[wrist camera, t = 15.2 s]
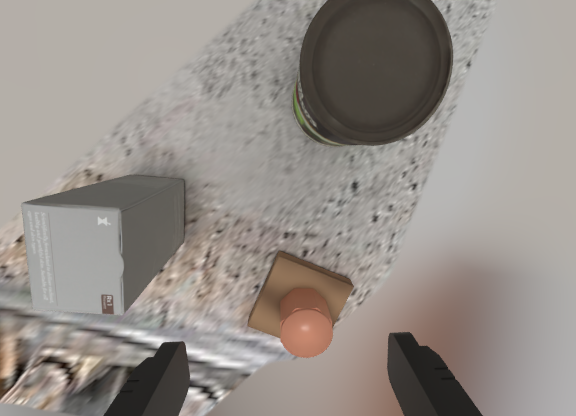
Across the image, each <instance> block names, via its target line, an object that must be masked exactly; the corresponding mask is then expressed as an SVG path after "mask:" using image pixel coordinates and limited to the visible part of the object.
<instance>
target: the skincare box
mask: <svg viewBox="0 0 576 416" xmlns="http://www.w3.org/2000/svg"><path fill="white" fill-rule="evenodd" d="M21 207H22V215H23V224H24V234H25V244H26V254H27V265H28V273H29V282H30V290H31V300H32V309H33V310H39V311H59V312H76V313H93V314H110V315H123V314H124V313H125V312H126V311H127V310H128V309H129V307H130V306H131V305H132V304H133V303H134V301H135V300H136V299H137V298H138V296H139V295H140V294H141V293H142V292H143V290H144V289H145V288H146V287H147V285H148V284H149V283H150V282H151V281H152V279H153V278H154V277H155V276H156V275H157V273H158V272H159V271H160V270H161V269H162V267H163V266H164V265H165V264H166V263H167V261H168V260H169V259H170V258H171V257H172V255H173V254H174V253H175V252H176V251H177V249H178V248H179V247H180V246H181V245H182V243H184V180H183V179H173V178H162V177H151V176H139V175H127V176H123V177H119V178H115V179H112V180H108V181H104V182H100V183H96V184H92V185H88V186H84V187H80V188H77V189H73V190H69V191H65V192H61V193H57V194H54V195H50V196H46V197H42V198H38V199H34V200H31V201H27V202H23V203H22V204H21Z"/></svg>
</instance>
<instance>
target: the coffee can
mask: <svg viewBox="0 0 576 416" xmlns="http://www.w3.org/2000/svg"><path fill="white" fill-rule="evenodd" d="M452 66H453V47H452V41H451V36H450V32H449V30H448V27H447V24H446V22H445V20H444V18H443V16H442V14H441V13H440V11H439V10H438V8H437V7H436V6H435V4H434V3H433V2H432V1H431V0H328V1H327V2H326V3H325V4H324V5H323V6H322V7H321V8H320V10H319V11H318V12H317V14H316V15H315V17H314V18H313V20H312V22H311V23H310V25H309V27H308V29H307V32H306V34H305V37H304V40H303V44H302V48H301V54H300V65H299V70H298V75H297V79H296V82H295V85H294V88H293V92H292V110H293V114H294V117H295V120H296V122H297V124H298V126H299V127H300V129H301V130H302V131H303V133H304V134H305V135H306V136H307V137H309V138H310V139H311V140H313V141H315V142H316V143H319V144H321V145H325V146H331V147H340V146H345V145H371V146H374V145H383V144H388V143H392V142H395V141H398V140H401V139H403V138H405V137H407V136H409V135H410V134H412V133H413V132H415V131H416V130H418V129H419V128H420V127H421V126H423V125H424V124H425V123H426V122H427V121H428V120H429V118H430V117H431V116H432V115H433V114H434V113H435V111H436V110H437V108H438V107H439V105H440V103H441V102H442V100H443V98H444V96H445V93H446V91H447V88H448V85H449V82H450V77H451V73H452Z"/></svg>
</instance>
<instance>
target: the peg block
mask: <svg viewBox="0 0 576 416" xmlns="http://www.w3.org/2000/svg"><path fill="white" fill-rule="evenodd" d="M353 287H354V286H353V284H352V282H351V280H350V279H348V278H346V277H343V276H341V275H338V274H336V273H333V272H331V271H328V270H326V269H323V268H321V267H318V266H316V265H313V264H311V263H309V262H306V261H304V260H301V259H299V258H296V257H294V256H291V255H289V254H286V253H284V252H281V251H279V252H278V254H277V256H276V258H275V260H274V263H273V265H272V267H271V269H270V272H269V274H268V276H267V278H266V280H265V283H264V285H263V287H262V289H261V292H260V294H259V296H258V298H257V300H256V303H255V305H254V307H253V309H252V311H251V314H250V316H249V320H248V325H247V326H249V327H251V328H254V329H257V330H259V331H262V332H265V333H267V334H270V335H273V336H276V337H278V338H281V327H280V301H281V300H282V299H283V298H284V297H285V296H286V295H287V294H288V293H290V292H291V291H292V290H293V289H294V288H313V289H314V290H315V291H316V292H317V293H318V294H319V295H321V296H322V297H323V298H324V299H325V300H326V303H327V306H328V309H329V313H330V316H331V319H332V328H333V326H334V324H335V322H336V320H337V318H338V316H339V314H340V312H341V310H342V309H343V307H344V305H345V303H346V301H347V299H348V297H349V295H350V293H351V291H352V289H353Z"/></svg>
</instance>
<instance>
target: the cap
mask: <svg viewBox="0 0 576 416" xmlns="http://www.w3.org/2000/svg"><path fill="white" fill-rule="evenodd" d="M280 327H281V342H282V344H283V346H284V347H285V348H286V350H287V351H289V352H290V353H291V354H293V355H295V356H298V357H304V358H305V357H306V358H308V357H314V356H317V355H319V354H321V353H322V352H324V351H325V350H326V349H327V347H328V346H329V345H330V343H331V341H332V337H333V330H332V319H331V316H330V313H329V309H328V306H327V303H326V300H325V299H324V298H323V297H322V296H321V295H319V294H318V293H317V292H316V291H315V290H314V289H313V288H294V289H293V290H292V291H291V292H290V293H288V294H287V295H286V296H285V297H284V298H283V299H282V300H281V301H280Z"/></svg>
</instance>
